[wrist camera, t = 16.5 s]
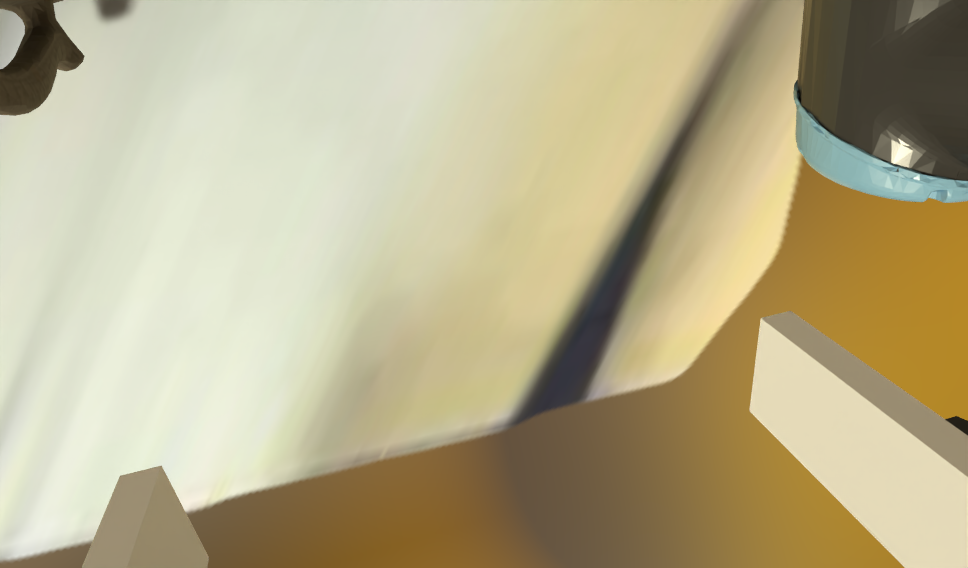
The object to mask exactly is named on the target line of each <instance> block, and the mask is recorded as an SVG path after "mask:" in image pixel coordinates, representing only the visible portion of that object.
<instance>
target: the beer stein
mask: <svg viewBox="0 0 968 568" xmlns="http://www.w3.org/2000/svg"><path fill="white" fill-rule="evenodd" d="M59 1H63V0H0V9H5V10H9V11H13V12H14V13H16V14H17V15H18V16H19V17H20V18H21V19H22V20H23V22H24V25H25V35H24V37H23V39H22V41H21V44H20V46H19V48H18V51H17V53H16V55H15V57H14V58H13V60H12V61H11V62H10V63H9V64H8V65H7V66H6V67H4V68H3V69H0V115H15V116H16V115H21V114H26V113H29V112H31V111H33V110H34V109H36V108H38V107H39V106H40V105H41V104H42V103H43V102H44V101H45V100H46V98H47V97H48V95H49V94H50V92H51V90H52V87H53V83H54V80H55V77H56V72H57V69H59V70H63V71H69V70H73V69H75V68H77V67H78V66H79V65H80V64H81V63H82V62H83V59H84V55H83V54H82V53H81V51H80V50H79V49H78V48H77V47H76V45H75V44H74V43H73V42H72V41H71V40H70V38H69V37H68V36H67V34H66V33H65V32H64V30H63V29H62V27H61V26H60V25H59V23H58V22H57V20H56V18H55V12H54V5H53V3H55V2H59Z"/></svg>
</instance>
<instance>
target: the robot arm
mask: <svg viewBox="0 0 968 568" xmlns="http://www.w3.org/2000/svg"><path fill="white" fill-rule="evenodd" d="M794 100H795V103H796V106H797V113H796V142H797V146H798V149H799V151H800V152H801V153H802V155H803V156H804V158H805V159H806V161H807V163H808V164H809V165H810V166H811V167H812V168H814V169H815V170H816V171H817V172H819V173H820V174H822V175H823V176H825V177H827V178H828V179H830V180H832V181H834V182H836V183H838V184H841V185H843V186H846V187H849V188H852V189H855V190H858V191H861V192H864V193H867V194H871V195H876V196H880V197H884V198H890V199H896V200H904V201H914V202H923V201H925V200H927V198H932V199H936V200H939V201H942V202H946V203H948V202H962V201H968V0H805V1H804V12H803V24H802V35H801V47H800V58H799V70H798V80H797V81H796V83H795V85H794ZM750 412H751V413H752V414H753V415H754V416H755V417H756V418H757V419H758V420H759V421H760V422H761V423H762V424H763V425H764V426H765V427H766V428H767V429H768V430H769V431H770V432H771V433H772V434H773V435H774V436H775V437H776V438H777V439H778V440H779V441H780V442H781V443H782V444H783V445H784V446H785V447H786V448H787V449H788V450H789V451H790V452H791V453H792V454H793V455H794V456H795V457H796V458H797V459H798V460H799V461H800V462H801V463H802V464H803V465H804V466H805V467H806V468H807V469H808V470H809V471H810V472H811V473H812V474H813V475H814V476H815V477H816V478H817V479H818V480H819V481H820V482H821V483H822V484H823V486H825V487H826V488H827V490H829V492H831V493H832V494H833V496H835V498H836V499H837V500H838V501H839V502H840V503H841V504H842V505H844V506H845V508H846V509H847V510H848V511H849V512H850V513H851V514H852V515H853V516H854V517H855V518H857V520H858V521H859V522H860V523H861V524H862V525H863V526H864V527H865V528H866V529H867V530H868V531H869V532H870V533H871V534H872V535H873V536H874V537H875V538H876V539H877V540H878V541H879V542H880V543H881V544H882V545H883V546H884V547H885V548H886V549H887V550H888V551H889V552H890V553H891V554H892V555H893V556H894V557H895V558H896V559H897V560H898V561H899V562H900V563H901V564H902V565H903V566H904V567H905V568H968V421H967V420H964V419H962V418H960V417H957V416H955V417H952V418H949V419H943V418H942V417H941V416H939V415H938V414H936V413H935V412H933V411H932V410H931V409H929V408H928V407H926V406H925V405H923V404H922V403H921V402H919V401H918V400H916V399H915V398H913V397H912V396H911V395H909V394H908V393H906V392H905V391H904V390H902V389H901V388H899V387H898V386H897V385H895V384H894V383H892V382H891V381H889V380H888V379H886V378H885V377H884V376H882V375H881V374H879V373H878V372H877V371H875V370H874V369H872V368H871V367H869V366H868V365H866V364H865V363H864V362H862V361H861V360H859V359H858V358H856V357H855V356H854V355H852V354H851V353H850V352H848V351H847V350H845V349H844V348H842V347H841V346H840V345H838V344H837V343H835V342H834V341H833V340H831V339H829V338H828V337H827V336H825V335H824V334H823V333H821V332H820V331H818V330H817V329H816V328H814V327H813V326H811V325H810V324H808V323H807V322H806V321H804V320H802V319H801V318H800V317H798V316H797V315H796V314H794V313H793V312H791V311H788V312H785V313H780V314H776V315H772V316H768V317H764V318H761V322H760V330H759V338H758V347H757V354H756V362H755V371H754V379H753V387H752V395H751V403H750ZM208 559H209V557H208V555H207V553H206V551H205V550H204V548H203V546H202V544H201V542H200V540H199V538H198V536H197V534H196V532H195V530H194V528H193V526H192V524H191V522H190V520H189V518H188V516H187V514H186V513H185V511H184V509H183V507H182V505H181V503H180V501H179V499H178V497H177V495H176V493H175V491H174V489H173V487H172V485H171V483H170V481H169V479H168V478H167V476H166V474H165V472H164V470H163V468H162V466H158V467H154V468H150V469H146V470H142V471H138V472H134V473H130V474H126V475H122V476H120V477H119V480H118V482H117V485H116V487H115V489H114V492H113V494H112V496H111V499H110V501H109V504H108V506H107V508H106V511H105V513H104V516H103V518H102V520H101V523H100V525H99V528H98V530H97V532H96V535H95V537H94V540H93V542H92V544H91V547H90V549H89V552H88V554H87V556H86V559H85V562H84V564H83V566H82V568H207V564H208Z"/></svg>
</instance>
